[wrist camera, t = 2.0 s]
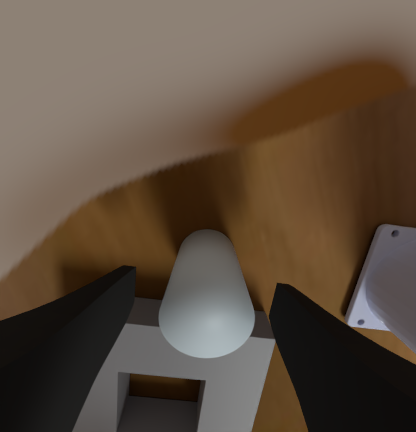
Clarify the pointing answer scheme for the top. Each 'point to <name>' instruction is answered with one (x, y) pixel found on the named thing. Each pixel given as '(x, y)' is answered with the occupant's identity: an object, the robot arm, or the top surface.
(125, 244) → the top surface
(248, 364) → the dock
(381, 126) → the top surface
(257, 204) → the top surface
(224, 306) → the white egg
